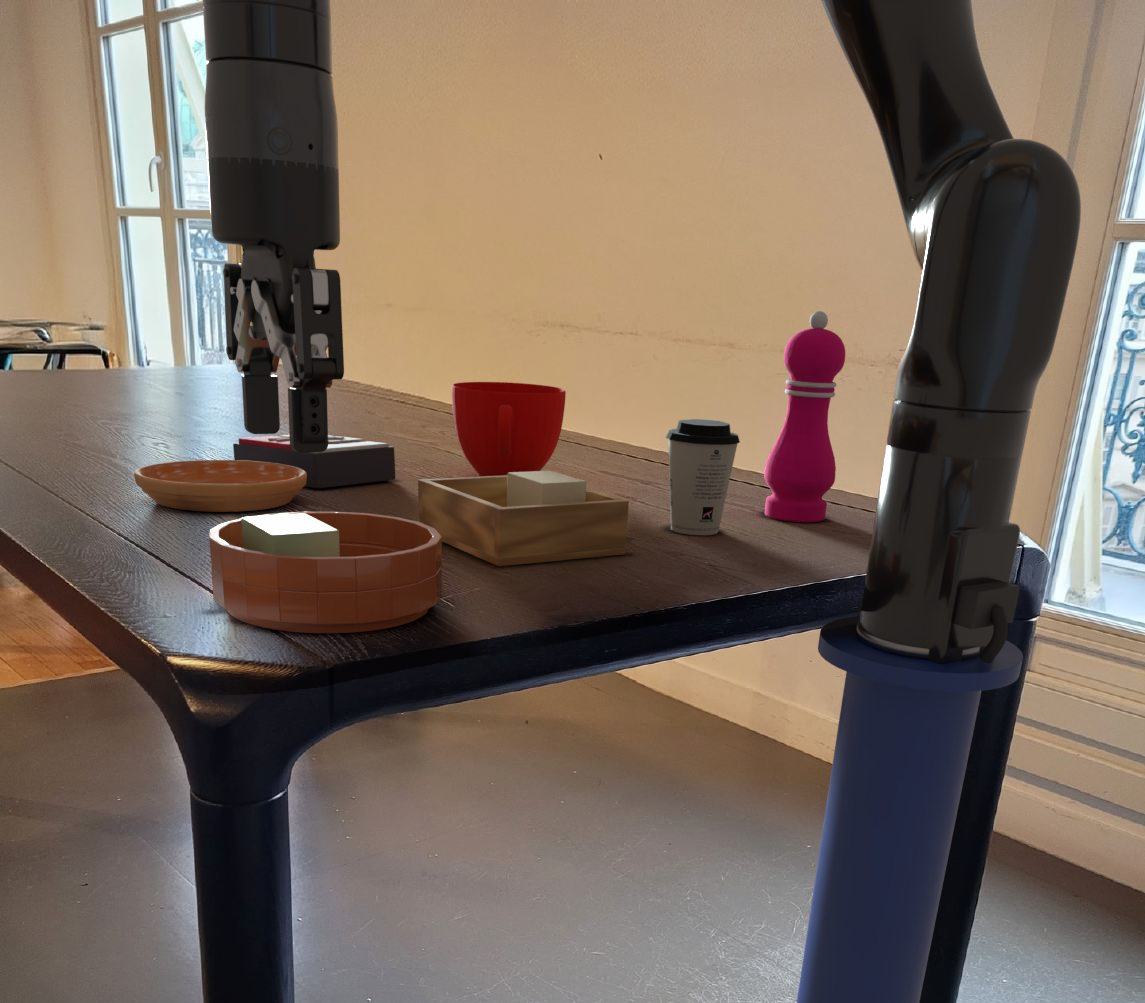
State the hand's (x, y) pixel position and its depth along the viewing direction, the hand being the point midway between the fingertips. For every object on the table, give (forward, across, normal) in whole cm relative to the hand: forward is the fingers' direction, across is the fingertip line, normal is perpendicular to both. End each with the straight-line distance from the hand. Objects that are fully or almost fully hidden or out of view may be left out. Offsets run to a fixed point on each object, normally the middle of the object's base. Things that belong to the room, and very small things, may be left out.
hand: (284, 441), depth 74 cm
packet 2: (+10, +13, -28) cm, 33 cm away
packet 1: (+10, 0, 0) cm, 10 cm away
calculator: (+11, +51, -22) cm, 56 cm away
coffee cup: (+11, +12, -45) cm, 47 cm away
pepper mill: (+11, +14, -60) cm, 62 cm away
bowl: (+11, 0, -3) cm, 11 cm away
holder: (+11, +13, -26) cm, 31 cm away
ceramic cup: (+11, +43, -42) cm, 61 cm away
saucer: (+11, +39, -8) cm, 41 cm away
